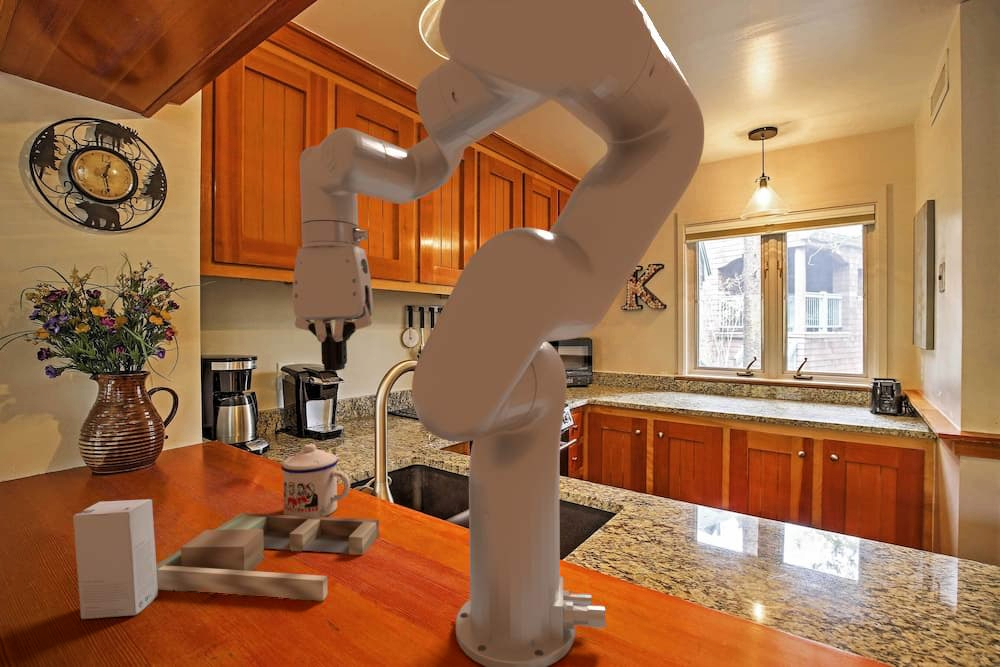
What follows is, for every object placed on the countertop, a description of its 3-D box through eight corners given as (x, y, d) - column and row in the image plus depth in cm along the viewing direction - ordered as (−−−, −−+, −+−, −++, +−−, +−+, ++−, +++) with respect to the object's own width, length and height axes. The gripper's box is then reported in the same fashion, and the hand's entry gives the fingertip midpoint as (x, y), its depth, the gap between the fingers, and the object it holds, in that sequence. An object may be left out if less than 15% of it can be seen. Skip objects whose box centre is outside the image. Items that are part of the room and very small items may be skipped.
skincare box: (159, 595, 57) (157, 496, 56) (134, 618, 52) (131, 511, 52) (105, 598, 56) (102, 499, 56) (74, 622, 52) (71, 514, 51)
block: (264, 561, 65) (263, 529, 65) (244, 581, 60) (243, 546, 60) (206, 561, 65) (205, 530, 65) (182, 582, 60) (181, 547, 60)
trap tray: (379, 535, 72) (378, 519, 72) (323, 601, 55) (322, 580, 55) (241, 528, 75) (241, 513, 75) (149, 588, 58) (148, 569, 58)
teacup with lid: (270, 520, 78) (268, 451, 78) (304, 499, 87) (302, 437, 87) (335, 526, 75) (333, 454, 75) (363, 504, 84) (362, 440, 84)
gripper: (391, 242, 69) (394, 366, 69) (294, 246, 70) (298, 368, 70) (372, 232, 61) (376, 371, 61) (264, 237, 63) (269, 373, 63)
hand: (334, 369), depth 66 cm, fingers closed
